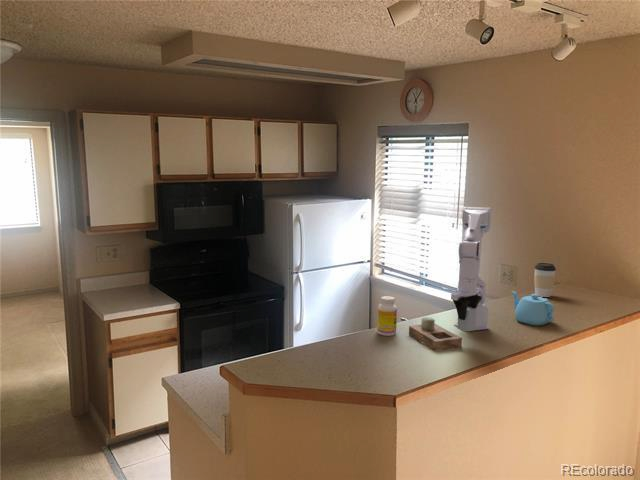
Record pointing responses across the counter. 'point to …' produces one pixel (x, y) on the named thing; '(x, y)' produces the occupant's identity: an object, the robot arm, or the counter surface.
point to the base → (434, 335)
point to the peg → (468, 320)
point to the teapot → (533, 309)
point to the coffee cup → (544, 279)
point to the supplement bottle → (387, 316)
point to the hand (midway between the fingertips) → (465, 317)
